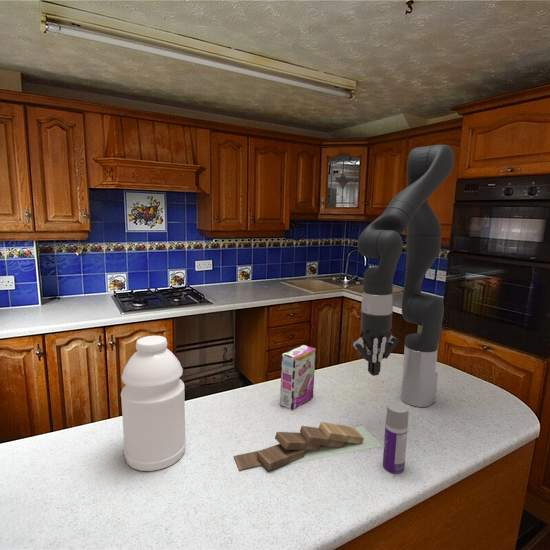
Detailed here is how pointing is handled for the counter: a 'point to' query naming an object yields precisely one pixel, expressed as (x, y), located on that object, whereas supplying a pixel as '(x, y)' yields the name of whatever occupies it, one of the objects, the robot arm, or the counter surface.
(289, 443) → the domino
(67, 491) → the counter surface
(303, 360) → the candy bar box
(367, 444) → the mat
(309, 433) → the domino
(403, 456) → the container
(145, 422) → the bottle
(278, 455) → the domino
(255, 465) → the domino
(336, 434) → the domino
